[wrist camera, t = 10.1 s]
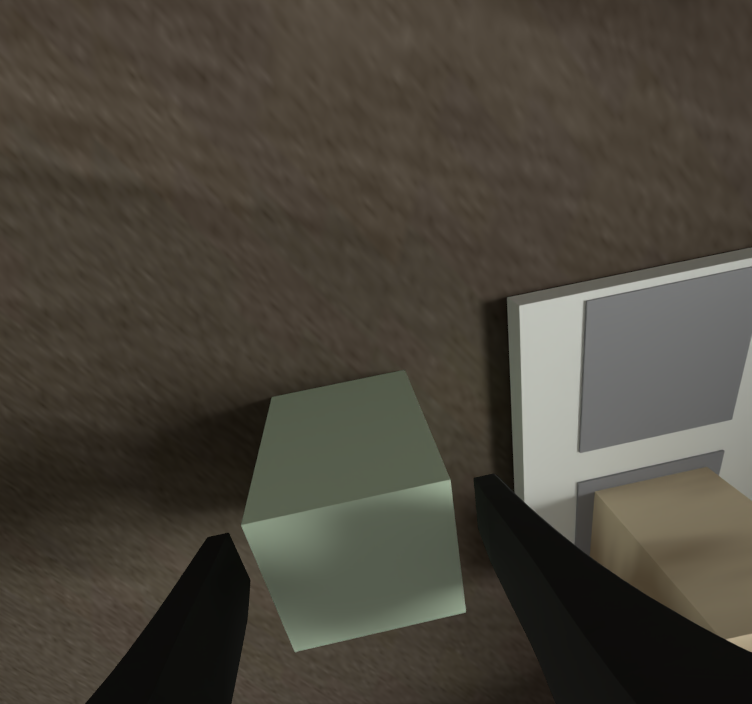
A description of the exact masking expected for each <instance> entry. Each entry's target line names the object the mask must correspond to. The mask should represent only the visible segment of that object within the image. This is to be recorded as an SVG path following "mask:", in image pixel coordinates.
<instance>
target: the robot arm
mask: <svg viewBox="0 0 752 704" xmlns="http://www.w3.org/2000/svg"><path fill="white" fill-rule="evenodd" d="M474 488H475V499H476V510H477V521H478V529H479V532H480V535H481V537H482V540H483V543H484V546H485V548H486V551H487V554H488V556H489V559H490V562H491V564H492V566H493V568H494V570H495V572H496V574H497V576H498V578H499V580H500V582H501V585H502V587H503V589H504V591H505V593H506V595H507V597H508V599H509V601H510V603H511V605H512V607H513V609H514V611H515V613H516V615H517V617H518V619H519V621H520V623H521V625H522V627H523V629H524V631H525V633H526V635H527V637H528V639H529V641H530V643H531V645H532V647H533V650H534V652H535V654H536V656H537V659H538V661H539V663H540V665H541V668H542V670H543V673H544V675H545V678H546V680H547V683H548V685H549V688H550V690H551V693H552V695H553V698H554V700H555V703H556V704H752V652H750V651H748V650H746V649H744V648H741V647H739V646H737V645H735V644H733V643H731V642H729V641H727V640H726V639H724V638H722V637H720V636H718V635H716V634H714V633H712V632H711V631H709V630H707V629H705V628H703V627H701V626H699V625H697V624H696V623H694V622H692V621H690V620H689V619H687V618H685V617H684V616H682V615H680V614H678V613H677V612H675V611H673V610H672V609H670V608H668V607H667V606H665V605H663V604H661V603H660V602H658V601H656V600H655V599H653V598H651V597H649V596H648V595H646V594H645V593H643V592H642V591H640V590H638V589H637V588H635V587H634V586H632V585H631V584H629V583H628V582H626V581H624V580H623V579H621V578H620V577H619V576H617V575H616V574H614V573H613V572H611V571H610V570H608V569H607V568H605V567H604V566H603V565H601V564H600V563H598V562H597V561H596V560H594V559H593V558H592V557H590V556H589V555H587V554H586V553H585V552H583V551H582V550H581V549H580V548H578V547H577V546H576V545H574V544H573V543H572V542H571V541H569V540H568V539H567V538H566V537H564V536H563V535H562V534H561V533H559V532H558V531H557V530H556V529H555V528H553V527H552V526H551V525H550V524H549V523H548V522H546V521H545V520H544V519H543V518H542V517H541V516H539V515H538V514H537V513H536V512H535V511H534V510H533V509H531V508H530V507H529V506H528V505H527V504H526V503H525V502H524V501H523V500H522V499H521V498H520V497H518V496H517V495H516V494H515V493H514V492H513V491H512V490H511V489H510V488H509V487H508V486H507V485H506V484H505V483H504V482H503V481H502V480H501V479H500V478H499V477H498V476H497V475H495V474H489V475H485V476H480V477H476V478H474ZM249 594H250V578H249V576H248V574H247V572H246V569H245V567H244V565H243V563H242V561H241V558H240V556H239V554H238V552H237V550H236V547H235V545H234V543H233V541H232V539H231V536H230V534H229V533H225V534H220V535H216V536H211V537H208V538H207V539H206V540H205V542H204V543H203V545H202V546H201V548H200V549H199V551H198V552H197V554H196V555H195V557H194V558H193V559H192V561H191V563H190V564H189V566H188V567H187V569H186V570H185V572H184V573H183V575H182V576H181V577H180V579H179V580H178V582H177V583H176V585H175V586H174V588H173V589H172V591H171V592H170V594H169V595H168V597H167V598H166V599H165V601H164V602H163V604H162V605H161V607H160V608H159V610H158V611H157V612H156V614H155V615H154V617H153V618H152V620H151V621H150V622H149V624H148V625H147V626H146V628H145V629H144V630H143V632H142V633H141V634H140V636H139V637H138V638H137V640H136V641H135V642H134V644H133V645H132V646H131V648H130V649H129V651H128V652H127V653H126V655H125V656H124V657H123V658H122V660H121V661H120V662H119V664H118V665H117V666H116V667H115V669H114V670H113V671H112V672H111V674H110V675H109V676H108V677H107V678H106V680H105V681H104V682H103V683H102V684H101V686H100V687H99V688H98V689H97V690H96V692H95V693H94V694H93V695H92V696H91V697H90V699H89V700H88V701H87V702H86V703H85V704H231V703H232V698H233V692H234V687H235V682H236V677H237V672H238V667H239V662H240V657H241V651H242V646H243V641H244V635H245V630H246V624H247V618H248V607H249Z"/></svg>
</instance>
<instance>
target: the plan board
mask: <svg viewBox="0 0 752 704" xmlns="http://www.w3.org/2000/svg"><path fill="white" fill-rule="evenodd" d="M507 311H508V337H509V363H510V388H511V414H512V440H513V465H514V491H515V494H516V495H517V496H518V497H520V498H521V499H522V500H523V501H524V502H525V503H526V504H527V505H528V506H529V507H530V508H531V509H533V510H534V511H535V512H536V513H537V514H538V515H539V516H541V517H542V518H543V519H544V520H545V521H546V522H548V523H549V524H550V525H551V526H552V527H553V528H555V529H556V530H557V531H558V532H559V533H561V534H562V535H563V536H564V537H566V538H567V539H568V540H569V541H571V542H572V543H573V544H574V545H576V546H577V547H578V548H580V549H581V550H582V551H583V552H585V553H586V554H587V555H589V556H590V547H591V534H592V522H593V509H594V496H595V491H599V490H604V489H608V488H613V487H617V486H622V485H626V484H631V483H636V482H640V481H645V480H649V479H654V478H658V477H663V476H667V475H672V474H677V473H681V472H686V471H690V470H695V469H699V468H704V467H708V468H709V469H711V470H712V471H713V472H714V473H716V474H717V475H718V476H720V477H721V478H722V479H724V480H725V481H726V482H728V483H729V484H730V485H732V486H733V487H734V488H736V489H737V490H738V491H740V492H741V493H742V494H743V495H745V496H746V497H747V498H749V499H750V500H751V501H752V247H751V248H746V249H741V250H736V251H731V252H726V253H722V254H717V255H712V256H707V257H702V258H697V259H692V260H687V261H683V262H678V263H673V264H668V265H663V266H658V267H653V268H648V269H644V270H639V271H634V272H629V273H624V274H619V275H614V276H609V277H605V278H600V279H595V280H590V281H585V282H580V283H575V284H570V285H566V286H561V287H556V288H551V289H546V290H541V291H536V292H531V293H526V294H522V295H517V296H512V297H507Z"/></svg>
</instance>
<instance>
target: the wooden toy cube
mask: <svg viewBox="0 0 752 704" xmlns="http://www.w3.org/2000/svg"><path fill="white" fill-rule="evenodd" d="M590 557H592V558H593V559H594V560H596V561H597V562H598V563H600V564H601V565H603V566H604V567H605V568H607V569H608V570H610V571H611V572H613V573H614V574H616V575H617V576H619V577H620V578H621V579H623V580H624V581H626V582H628V583H629V584H631V585H632V586H634V587H635V588H637V589H638V590H640V591H642V592H643V593H645V594H646V595H648V596H649V597H651V598H653V599H655V600H656V601H658V602H660V603H661V604H663V605H665V606H667V607H668V608H670V609H672V610H673V611H675V612H677V613H678V614H680V615H682V616H684V617H685V618H687V619H689V620H690V621H692V622H694V623H696V624H697V625H699V626H701V627H703V628H705V629H707V630H709V631H711V632H712V633H714V634H716V635H718V636H720V637H722V638H724V639H726V640H727V641H729V642H731V643H733V644H735V645H737V646H739V647H741V648H744V649H746V650H748V651H750V652H752V501H751V500H750V499H749V498H747V497H746V496H745V495H743V494H742V493H741V492H740V491H738V490H737V489H736V488H734V487H733V486H732V485H730V484H729V483H728V482H726V481H725V480H724V479H722V478H721V477H720V476H718V475H717V474H716V473H714V472H713V471H712V470H711V469H709V468H708V467H704V468H699V469H695V470H690V471H686V472H681V473H677V474H672V475H667V476H663V477H658V478H654V479H649V480H645V481H640V482H636V483H631V484H626V485H622V486H617V487H613V488H608V489H604V490H599V491H595V496H594V509H593V522H592V534H591V547H590Z"/></svg>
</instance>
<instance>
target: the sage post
mask: <svg viewBox="0 0 752 704" xmlns="http://www.w3.org/2000/svg"><path fill="white" fill-rule="evenodd" d="M241 526H242V528H243V531H244V533H245V536H246V538H247V540H248V543H249V545H250V547H251V550H252V552H253V554H254V557H255V559H256V562H257V564H258V566H259V569H260V571H261V573H262V576H263V578H264V580H265V583H266V585H267V588H268V590H269V592H270V595H271V597H272V599H273V602H274V604H275V606H276V609H277V611H278V613H279V616H280V618H281V621H282V623H283V625H284V628H285V630H286V632H287V635H288V637H289V639H290V642H291V644H292V647H293V649H294V651H295V652H297V651H301V650H305V649H310V648H314V647H318V646H323V645H327V644H331V643H336V642H340V641H344V640H349V639H353V638H357V637H362V636H366V635H370V634H375V633H379V632H383V631H388V630H392V629H396V628H401V627H405V626H409V625H414V624H418V623H422V622H426V621H431V620H435V619H439V618H444V617H448V616H452V615H457V614H461V613H465V612H466V608H465V600H464V591H463V583H462V574H461V566H460V557H459V549H458V540H457V532H456V523H455V515H454V506H453V498H452V489H451V481H450V478H449V475H448V473H447V470H446V468H445V466H444V463H443V461H442V458H441V456H440V454H439V451H438V449H437V446H436V444H435V441H434V439H433V437H432V434H431V432H430V429H429V427H428V425H427V422H426V420H425V417H424V415H423V413H422V410H421V408H420V405H419V403H418V401H417V398H416V396H415V393H414V391H413V389H412V386H411V384H410V381H409V379H408V377H407V374H406V372H405V370H401V371H397V372H392V373H387V374H382V375H377V376H372V377H367V378H363V379H358V380H353V381H348V382H343V383H338V384H333V385H328V386H324V387H319V388H314V389H309V390H304V391H299V392H294V393H290V394H285V395H280V396H275V397H272V398H271V402H270V407H269V411H268V415H267V419H266V423H265V427H264V432H263V436H262V440H261V444H260V448H259V452H258V457H257V461H256V465H255V469H254V473H253V478H252V482H251V486H250V490H249V494H248V498H247V503H246V507H245V511H244V515H243V519H242V523H241Z"/></svg>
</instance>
